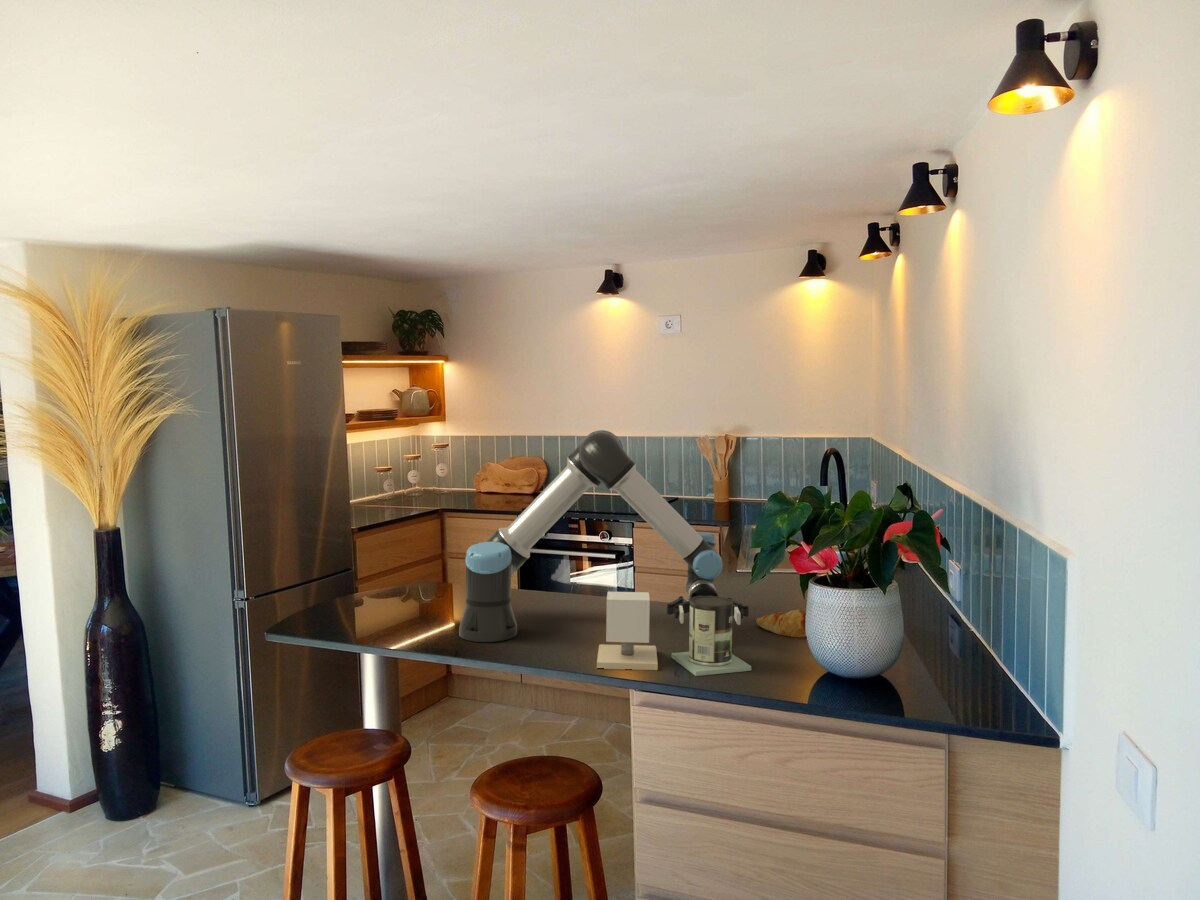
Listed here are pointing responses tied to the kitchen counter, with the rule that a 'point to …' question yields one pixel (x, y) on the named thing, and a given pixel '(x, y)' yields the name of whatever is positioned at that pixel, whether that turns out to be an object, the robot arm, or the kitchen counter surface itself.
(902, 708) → the kitchen counter surface
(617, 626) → the mounted unit
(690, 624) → the coffee can
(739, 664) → the sage mat
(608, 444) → the robot arm
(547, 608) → the kitchen counter surface
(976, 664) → the kitchen counter surface
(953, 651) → the kitchen counter surface
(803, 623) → the croissant
